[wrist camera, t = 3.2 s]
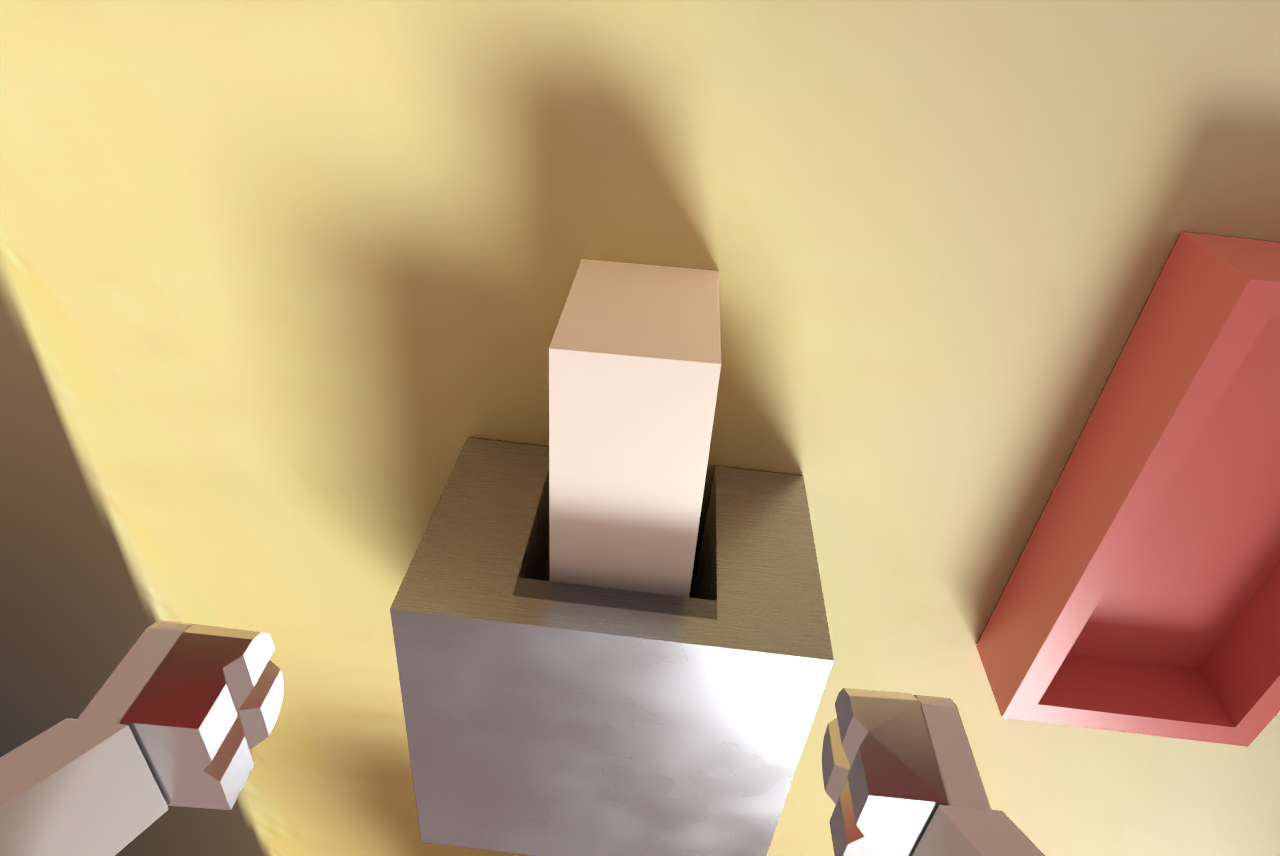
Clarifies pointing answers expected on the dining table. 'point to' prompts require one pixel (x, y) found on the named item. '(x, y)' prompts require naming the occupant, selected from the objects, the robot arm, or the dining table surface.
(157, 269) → the dining table surface
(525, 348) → the dining table surface
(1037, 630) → the tray
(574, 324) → the pale pink block
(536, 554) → the dispenser
